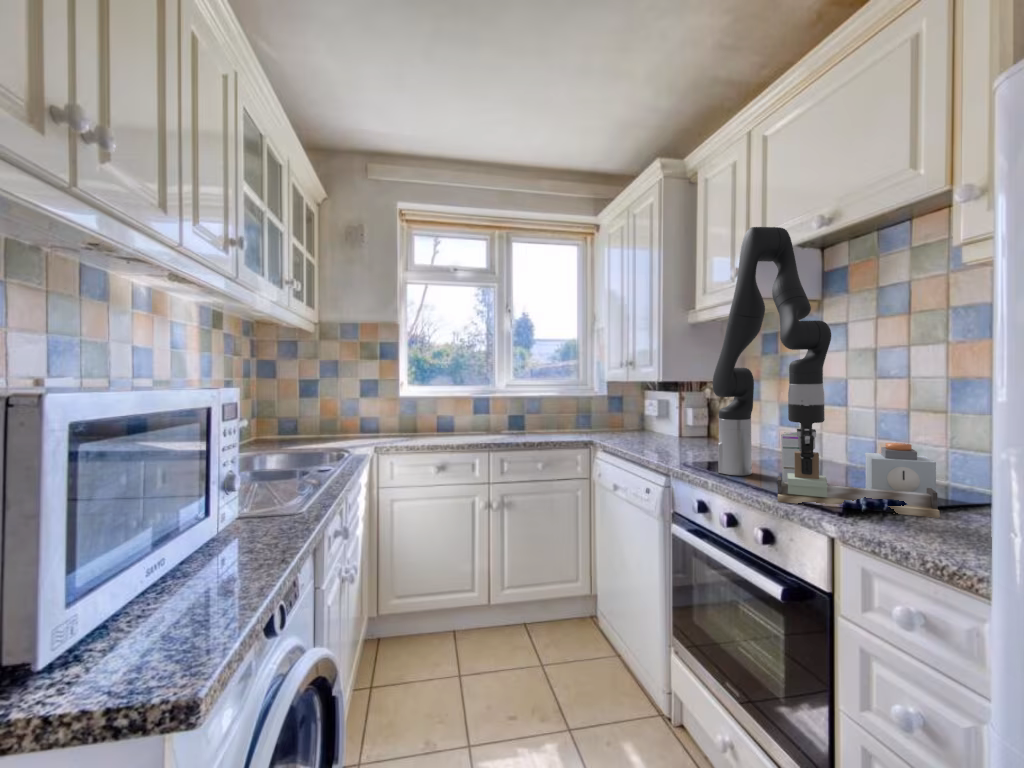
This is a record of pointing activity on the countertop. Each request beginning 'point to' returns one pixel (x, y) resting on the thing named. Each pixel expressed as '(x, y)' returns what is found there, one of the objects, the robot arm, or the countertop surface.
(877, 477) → the gauge cabinet
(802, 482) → the brown block on pedestal
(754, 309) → the robot arm
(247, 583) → the countertop surface
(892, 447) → the button
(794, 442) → the syrup box
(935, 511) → the rail base
